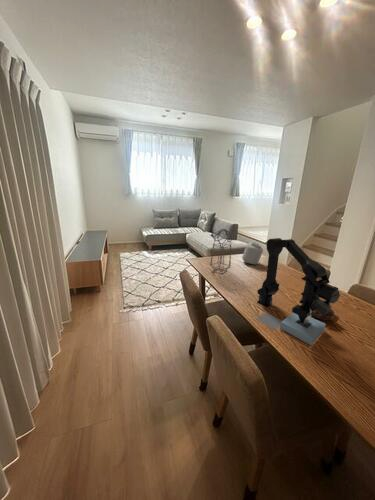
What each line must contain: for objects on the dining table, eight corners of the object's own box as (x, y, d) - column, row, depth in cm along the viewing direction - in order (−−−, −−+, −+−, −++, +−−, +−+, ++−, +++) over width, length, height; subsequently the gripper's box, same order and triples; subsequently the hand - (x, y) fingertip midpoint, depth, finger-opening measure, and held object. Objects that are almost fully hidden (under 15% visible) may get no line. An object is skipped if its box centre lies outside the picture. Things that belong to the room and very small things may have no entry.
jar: (261, 261, 191) (265, 235, 184) (264, 267, 177) (268, 239, 170) (241, 259, 194) (244, 233, 187) (242, 265, 180) (245, 237, 173)
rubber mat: (256, 320, 105) (256, 319, 105) (266, 313, 111) (266, 312, 111) (274, 330, 98) (274, 329, 98) (284, 322, 104) (284, 321, 104)
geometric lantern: (206, 270, 166) (209, 228, 156) (218, 266, 176) (222, 226, 167) (221, 276, 155) (225, 231, 145) (233, 272, 165) (238, 229, 156)
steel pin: (296, 326, 98) (300, 308, 95) (300, 323, 101) (304, 305, 98) (305, 330, 95) (309, 312, 92) (308, 327, 98) (313, 309, 95)
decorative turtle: (305, 308, 116) (309, 296, 114) (336, 321, 108) (342, 308, 105) (301, 315, 109) (306, 302, 107) (335, 330, 100) (341, 316, 98)
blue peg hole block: (279, 329, 99) (281, 322, 98) (294, 316, 109) (295, 310, 107) (310, 346, 89) (312, 338, 87) (324, 331, 98) (326, 324, 97)
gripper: (323, 306, 81) (314, 339, 86) (338, 293, 92) (329, 322, 97) (294, 295, 89) (288, 325, 94) (311, 284, 101) (305, 311, 105)
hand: (303, 321), depth 97 cm, fingers closed on steel pin, 4 cm apart
